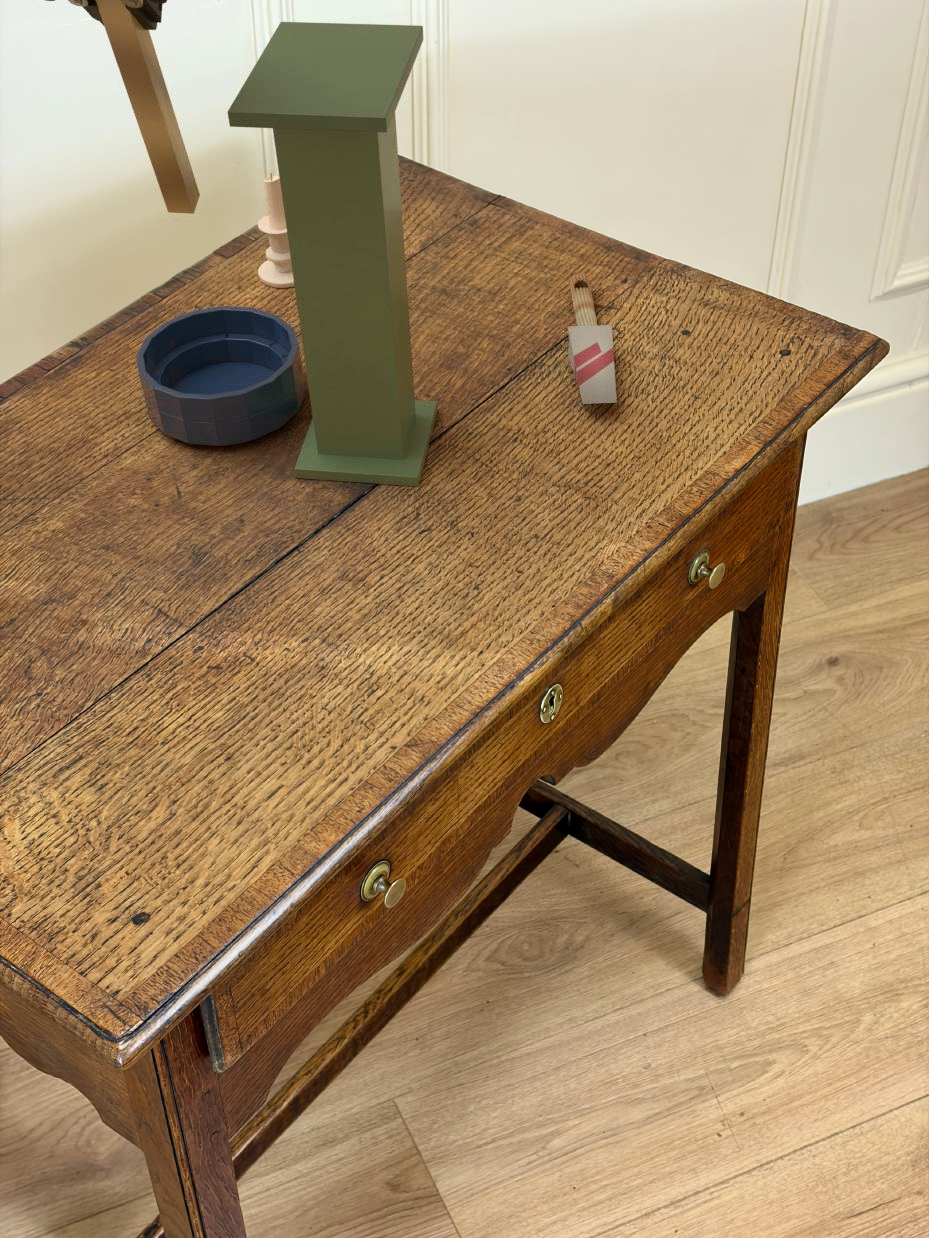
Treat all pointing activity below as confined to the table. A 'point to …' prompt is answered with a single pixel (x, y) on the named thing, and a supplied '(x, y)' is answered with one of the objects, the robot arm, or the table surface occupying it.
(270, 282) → the candle
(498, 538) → the table surface
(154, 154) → the stick
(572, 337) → the paintbrush
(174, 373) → the bowl
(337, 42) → the stand
